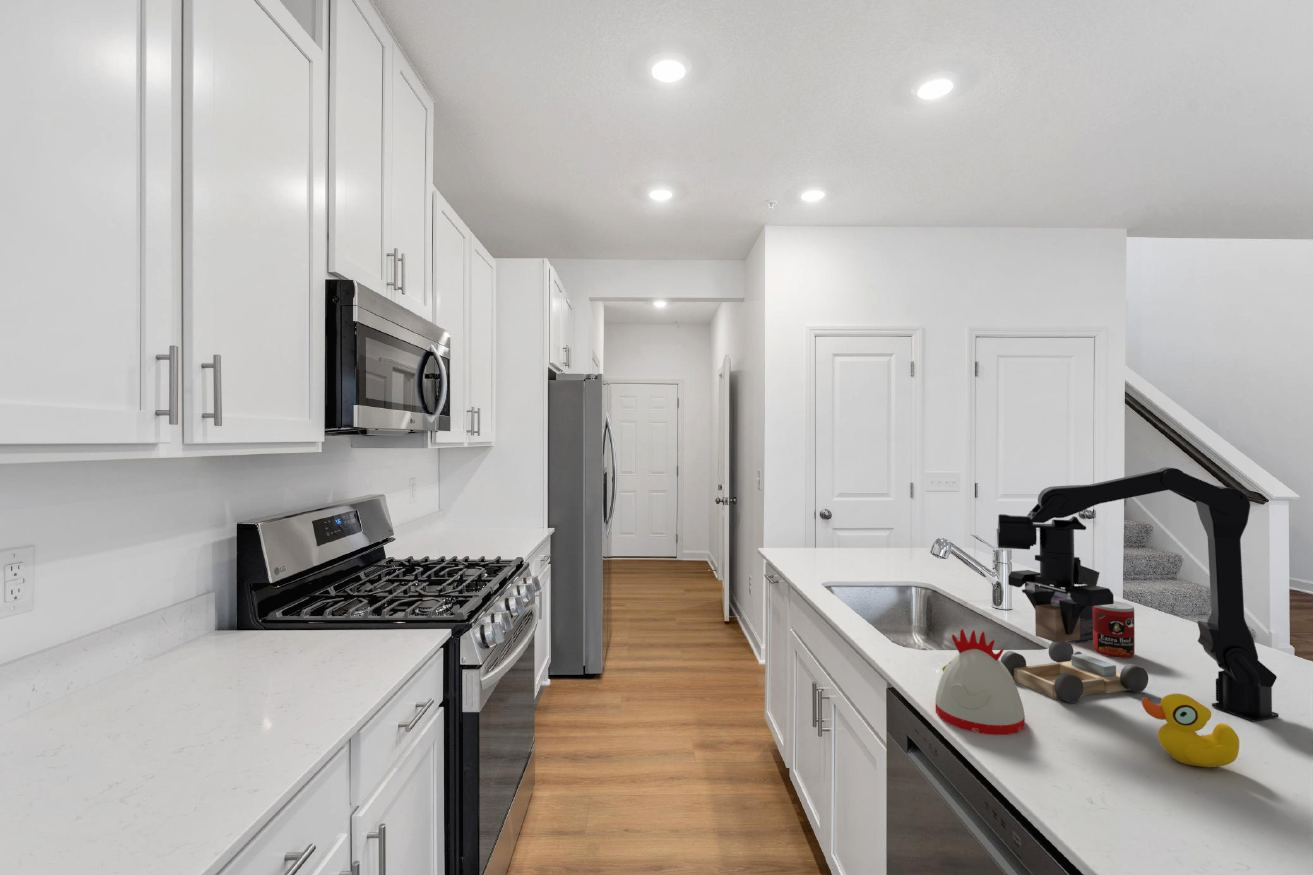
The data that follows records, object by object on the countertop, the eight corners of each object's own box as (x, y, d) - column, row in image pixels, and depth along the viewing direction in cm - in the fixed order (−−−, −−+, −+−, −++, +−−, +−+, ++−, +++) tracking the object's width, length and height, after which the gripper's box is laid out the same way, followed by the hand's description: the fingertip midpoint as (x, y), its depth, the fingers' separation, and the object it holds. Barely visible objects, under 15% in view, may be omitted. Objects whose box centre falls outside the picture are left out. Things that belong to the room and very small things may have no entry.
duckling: (1147, 763, 93) (1147, 696, 93) (1137, 747, 98) (1136, 683, 98) (1246, 780, 88) (1245, 709, 88) (1230, 762, 93) (1229, 695, 93)
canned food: (1095, 655, 140) (1095, 606, 140) (1090, 645, 147) (1090, 598, 147) (1138, 661, 136) (1137, 610, 136) (1130, 650, 143) (1130, 602, 143)
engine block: (1080, 639, 121) (1079, 604, 121) (1055, 642, 119) (1055, 607, 120) (1059, 632, 125) (1058, 598, 125) (1035, 635, 124) (1035, 601, 124)
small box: (1036, 630, 158) (1035, 589, 158) (1055, 628, 160) (1055, 587, 160) (1075, 643, 148) (1075, 599, 148) (1095, 640, 150) (1095, 597, 150)
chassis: (1148, 692, 119) (1148, 665, 119) (1063, 705, 114) (1062, 677, 114) (1079, 666, 133) (1079, 642, 133) (1000, 676, 127) (999, 652, 128)
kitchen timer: (947, 694, 119) (946, 615, 119) (1030, 714, 110) (1030, 629, 111) (925, 719, 108) (924, 633, 109) (1015, 743, 100) (1015, 649, 100)
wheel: (1073, 663, 134) (1073, 640, 134) (1056, 665, 133) (1055, 642, 133) (1065, 660, 136) (1065, 638, 136) (1048, 662, 135) (1048, 640, 135)
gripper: (1135, 557, 116) (1137, 641, 116) (1047, 541, 134) (1048, 614, 134) (1089, 560, 113) (1090, 647, 113) (1005, 544, 131) (1006, 619, 131)
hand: (1057, 630), depth 123 cm, fingers closed on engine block, 4 cm apart
